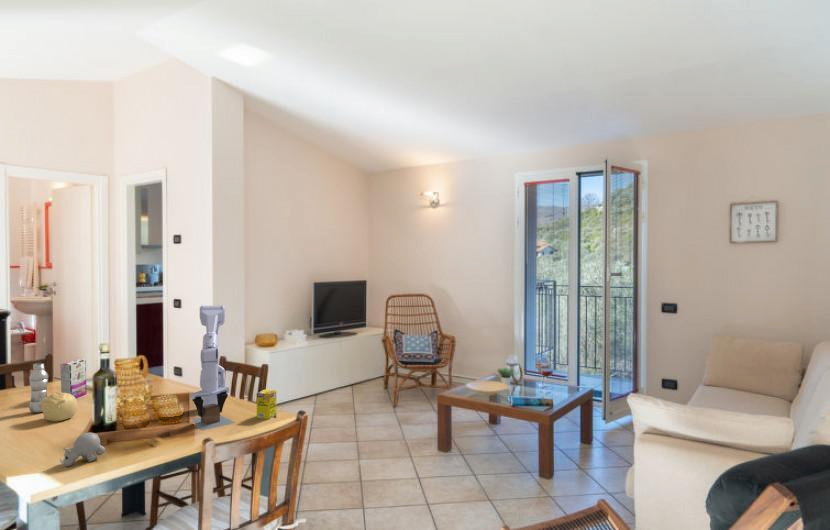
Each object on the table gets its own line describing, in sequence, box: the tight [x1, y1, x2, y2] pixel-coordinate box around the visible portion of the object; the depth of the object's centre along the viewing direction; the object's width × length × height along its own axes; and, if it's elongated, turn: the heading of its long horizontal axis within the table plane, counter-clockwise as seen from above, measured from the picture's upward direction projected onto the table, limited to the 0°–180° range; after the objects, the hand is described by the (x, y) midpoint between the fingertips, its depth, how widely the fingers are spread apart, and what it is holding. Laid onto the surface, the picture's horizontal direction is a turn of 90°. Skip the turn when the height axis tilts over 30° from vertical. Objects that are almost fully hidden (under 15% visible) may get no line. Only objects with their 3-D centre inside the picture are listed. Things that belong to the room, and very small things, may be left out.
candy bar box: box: [59, 358, 88, 399], centre depth 244 cm, size 11×5×16 cm, turn 179°
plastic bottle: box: [28, 362, 49, 414], centre depth 220 cm, size 6×7×20 cm
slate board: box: [193, 414, 236, 431], centre depth 205 cm, size 16×13×1 cm
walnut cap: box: [201, 404, 221, 425], centre depth 205 cm, size 5×5×6 cm
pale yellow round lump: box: [40, 391, 79, 423], centre depth 211 cm, size 12×12×11 cm
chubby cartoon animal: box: [59, 432, 107, 468], centre depth 168 cm, size 7×12×8 cm, turn 143°
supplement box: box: [256, 389, 277, 420], centre depth 212 cm, size 6×6×11 cm
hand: (210, 414), depth 205 cm, fingers open, 7 cm apart
